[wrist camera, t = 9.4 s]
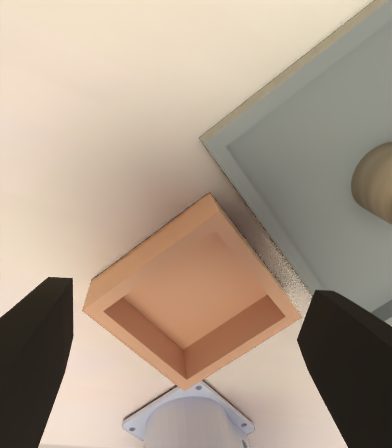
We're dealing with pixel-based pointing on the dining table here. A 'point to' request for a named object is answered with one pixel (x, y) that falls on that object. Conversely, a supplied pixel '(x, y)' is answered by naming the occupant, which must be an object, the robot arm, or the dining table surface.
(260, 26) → the dining table surface
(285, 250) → the slate tray
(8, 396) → the robot arm
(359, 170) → the birch peg
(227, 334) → the square terracotta tray
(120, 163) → the dining table surface
